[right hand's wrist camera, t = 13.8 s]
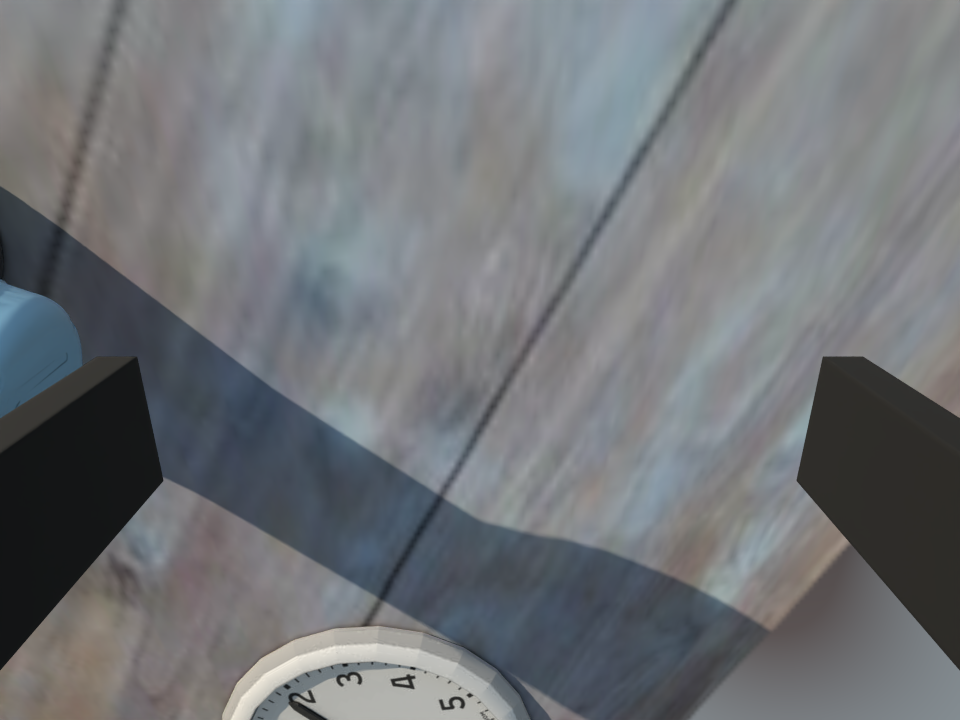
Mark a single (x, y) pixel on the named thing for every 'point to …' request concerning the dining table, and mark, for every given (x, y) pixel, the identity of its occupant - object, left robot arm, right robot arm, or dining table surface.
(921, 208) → the dining table surface
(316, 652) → the wall clock
